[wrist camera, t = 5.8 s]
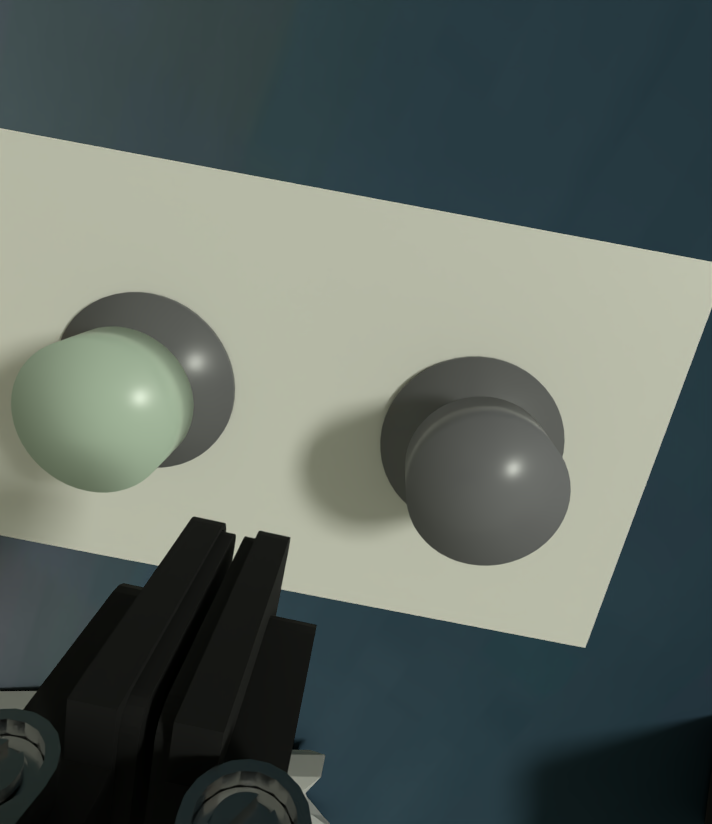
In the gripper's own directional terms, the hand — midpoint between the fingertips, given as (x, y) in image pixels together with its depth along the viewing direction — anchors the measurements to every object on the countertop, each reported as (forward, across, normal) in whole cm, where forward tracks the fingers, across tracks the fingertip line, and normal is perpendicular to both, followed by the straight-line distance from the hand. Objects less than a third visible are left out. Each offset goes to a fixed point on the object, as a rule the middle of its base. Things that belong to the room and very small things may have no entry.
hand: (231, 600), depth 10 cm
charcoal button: (+8, -5, 0) cm, 10 cm away
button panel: (+13, +6, 0) cm, 14 cm away
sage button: (+8, +6, 0) cm, 10 cm away
